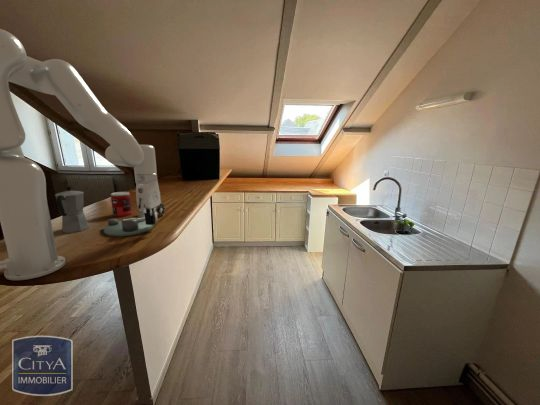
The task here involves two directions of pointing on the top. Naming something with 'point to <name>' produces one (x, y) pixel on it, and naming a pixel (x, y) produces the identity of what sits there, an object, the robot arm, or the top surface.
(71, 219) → the coffeepot
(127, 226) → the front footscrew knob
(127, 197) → the canned food
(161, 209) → the valve
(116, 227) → the instrument base
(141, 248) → the top surface
